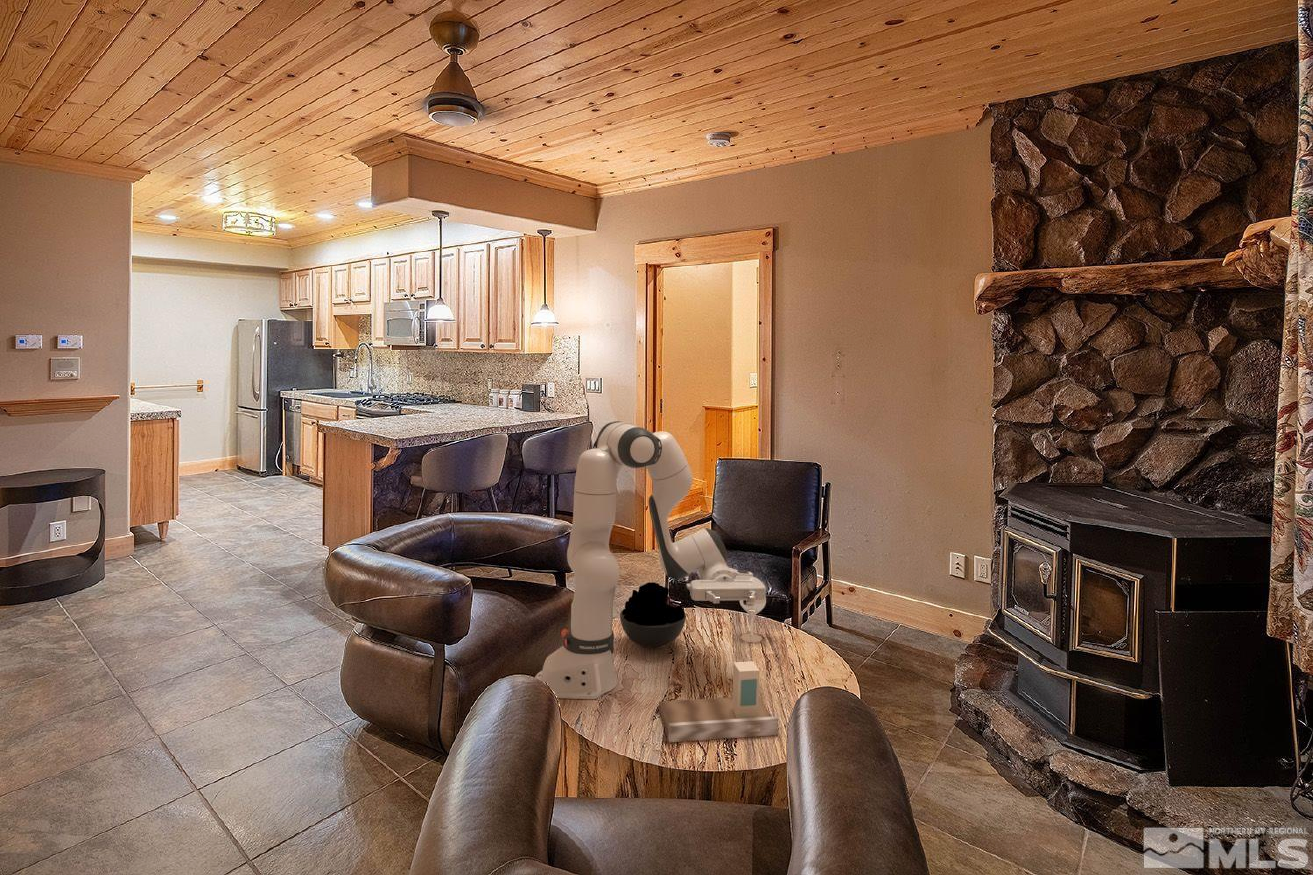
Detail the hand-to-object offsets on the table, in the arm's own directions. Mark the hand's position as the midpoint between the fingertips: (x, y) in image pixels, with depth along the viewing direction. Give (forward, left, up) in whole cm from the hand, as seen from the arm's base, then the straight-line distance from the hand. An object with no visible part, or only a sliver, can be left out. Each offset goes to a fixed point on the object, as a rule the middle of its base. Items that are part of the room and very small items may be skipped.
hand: (734, 600), depth 179 cm
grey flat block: (-7, -11, -26) cm, 29 cm away
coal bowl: (-16, +34, -26) cm, 46 cm away
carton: (0, -12, -24) cm, 27 cm away
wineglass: (+16, +36, -26) cm, 47 cm away
